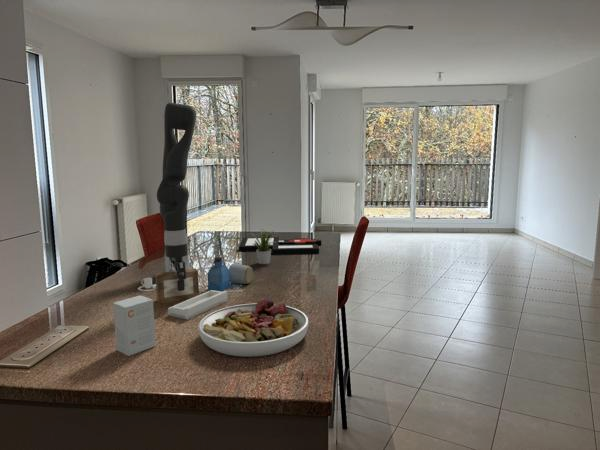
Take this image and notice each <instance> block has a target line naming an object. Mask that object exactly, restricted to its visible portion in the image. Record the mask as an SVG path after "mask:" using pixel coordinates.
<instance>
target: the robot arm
mask: <svg viewBox="0 0 600 450" xmlns="http://www.w3.org/2000/svg"><path fill="white" fill-rule="evenodd" d="M163 115H164V117H163V121H164V123H163V124H164V125H163V126H164V132H163V133H164V142H163V143H164V145H163V146H164V147H163V157H162V179H161V181H160V183H159V186H158V188H157V190H156V191H157V192H156V200H157V202H158V204H159V214H160V216H161V218H162V219H163V224H164V237H163V238H164V266H165V272H170V271H174V274H175V275H176V277H177V284H178V291H184V290H185V286H184V280H185V279H186V271H185V270H186V269H190V258H189V257H190V256H189V239H188V238H189V237H188V206H187V205H188V202H189V200H190V199H189V198H190V192H189V189H188V188H187V186H186V185H184V184H181V183H182V182H183V181H184V180H186V176H187V171H188V170H187V169H188V158H189V153H190V149H191V146H192V141H193V138H194V137H193V136H194V132H195V126H196V121H197V120H196V119H197V110H196V108H195V107H194V106H192V105H189V104H183V103H175V102H168V103H166V105H165V109H164V114H163ZM175 130H179V131H184V133H183V136H182V137H181V138H180V139H179V141H178V139H177V137H176V133H175ZM180 274H182V276H180Z"/></svg>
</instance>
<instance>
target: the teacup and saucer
mask: <svg viewBox="0 0 600 450" xmlns="http://www.w3.org/2000/svg"><path fill="white" fill-rule="evenodd" d="M140 283H141V285H142V286H139V287H138V288H137V290H138V291H142V292H147V291H148V292H149V291H154V290H156V283H155V284H153V277H144V278H143V279H141V280H140ZM142 288H145V289H142Z"/></svg>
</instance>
